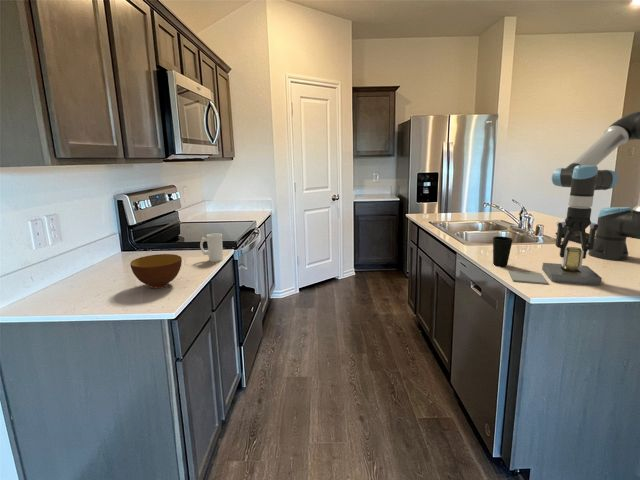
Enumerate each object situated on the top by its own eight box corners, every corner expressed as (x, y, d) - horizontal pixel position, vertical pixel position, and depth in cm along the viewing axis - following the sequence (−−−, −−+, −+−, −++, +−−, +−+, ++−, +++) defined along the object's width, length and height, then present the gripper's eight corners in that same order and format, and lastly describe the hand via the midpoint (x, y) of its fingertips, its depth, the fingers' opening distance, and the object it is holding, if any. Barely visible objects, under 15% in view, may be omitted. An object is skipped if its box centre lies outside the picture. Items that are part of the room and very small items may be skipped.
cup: (487, 262, 173) (489, 236, 170) (503, 262, 173) (506, 236, 171) (496, 267, 165) (499, 240, 162) (513, 267, 166) (516, 240, 163)
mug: (224, 257, 184) (222, 233, 181) (222, 261, 177) (221, 236, 174) (202, 258, 182) (200, 233, 180) (200, 262, 176) (198, 237, 173)
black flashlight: (586, 247, 201) (588, 232, 199) (550, 236, 225) (553, 222, 223) (597, 247, 202) (600, 232, 200) (561, 235, 226) (563, 221, 224)
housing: (586, 272, 158) (587, 265, 157) (600, 285, 143) (601, 278, 142) (542, 269, 163) (542, 262, 162) (551, 281, 148) (552, 274, 147)
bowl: (122, 290, 141) (119, 264, 139) (158, 276, 157) (155, 252, 155) (160, 296, 135) (157, 269, 133) (193, 281, 151) (191, 256, 149)
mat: (541, 274, 156) (541, 273, 156) (548, 284, 145) (548, 283, 145) (508, 272, 159) (508, 270, 159) (513, 281, 148) (513, 280, 148)
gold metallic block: (574, 275, 154) (578, 247, 152) (578, 279, 150) (582, 250, 147) (560, 274, 156) (564, 246, 153) (564, 278, 151) (568, 249, 149)
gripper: (603, 206, 147) (594, 264, 153) (550, 204, 153) (543, 261, 158) (611, 209, 140) (601, 270, 146) (555, 207, 146) (547, 266, 151)
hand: (571, 265), depth 152 cm, fingers closed on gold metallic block, 5 cm apart
